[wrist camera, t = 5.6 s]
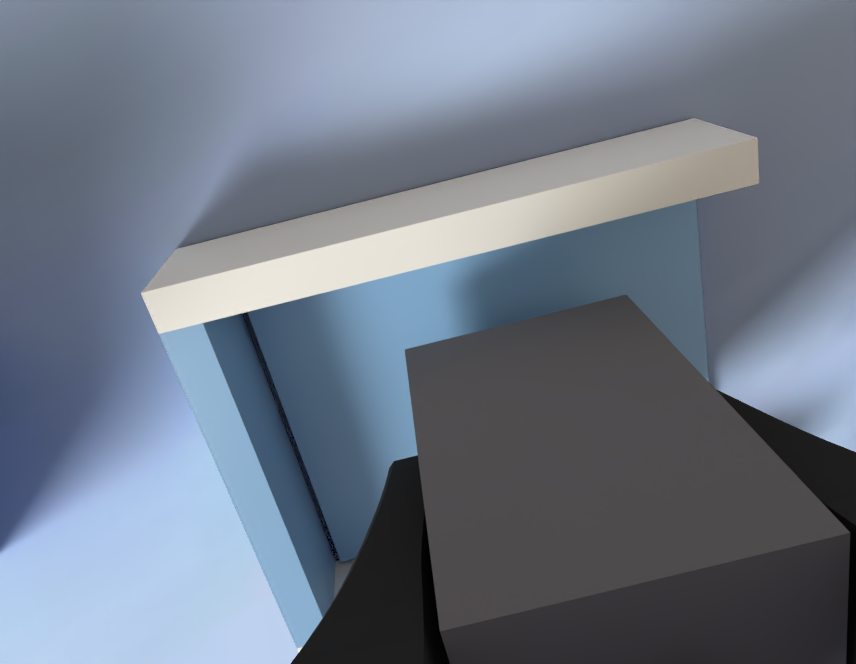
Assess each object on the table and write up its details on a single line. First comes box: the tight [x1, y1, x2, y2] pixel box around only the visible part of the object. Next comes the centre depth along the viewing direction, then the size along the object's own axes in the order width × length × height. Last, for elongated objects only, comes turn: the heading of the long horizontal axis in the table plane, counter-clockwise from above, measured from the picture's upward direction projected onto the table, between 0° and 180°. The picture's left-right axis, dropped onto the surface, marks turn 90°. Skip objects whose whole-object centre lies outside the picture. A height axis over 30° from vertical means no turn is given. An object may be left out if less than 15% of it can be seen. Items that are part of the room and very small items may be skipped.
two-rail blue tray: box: [141, 118, 759, 652], centre depth 17 cm, size 18×11×2 cm, turn 13°
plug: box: [405, 295, 850, 664], centre depth 11 cm, size 4×4×8 cm
